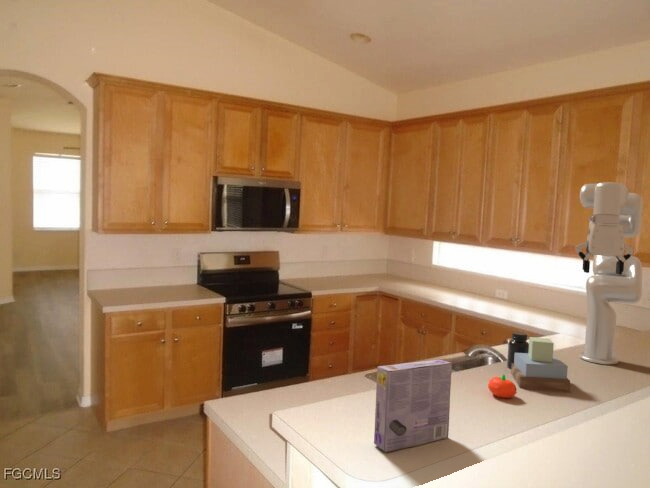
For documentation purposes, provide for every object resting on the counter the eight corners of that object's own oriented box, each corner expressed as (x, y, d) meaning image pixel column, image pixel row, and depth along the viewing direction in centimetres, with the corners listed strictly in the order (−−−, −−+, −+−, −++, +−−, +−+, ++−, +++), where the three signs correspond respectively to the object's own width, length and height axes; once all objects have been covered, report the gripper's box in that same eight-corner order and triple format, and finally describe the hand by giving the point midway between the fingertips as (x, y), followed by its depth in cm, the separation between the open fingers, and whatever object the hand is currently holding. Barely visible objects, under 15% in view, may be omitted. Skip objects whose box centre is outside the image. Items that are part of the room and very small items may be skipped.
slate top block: (513, 364, 159) (514, 352, 159) (552, 366, 158) (552, 354, 158) (525, 376, 147) (526, 363, 147) (566, 379, 146) (567, 366, 146)
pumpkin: (498, 391, 145) (501, 370, 145) (519, 401, 137) (523, 378, 137) (480, 391, 142) (483, 369, 142) (501, 401, 134) (504, 378, 134)
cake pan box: (438, 429, 116) (442, 356, 115) (453, 437, 112) (457, 362, 111) (371, 444, 107) (374, 365, 106) (384, 454, 103) (388, 372, 102)
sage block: (528, 355, 156) (529, 336, 155) (548, 357, 154) (549, 338, 154) (531, 360, 150) (532, 341, 150) (552, 362, 148) (553, 343, 148)
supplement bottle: (525, 372, 162) (527, 337, 162) (504, 368, 166) (506, 333, 166) (530, 367, 168) (532, 333, 167) (510, 363, 172) (512, 330, 171)
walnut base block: (510, 375, 161) (511, 363, 160) (556, 379, 158) (556, 367, 158) (519, 389, 147) (520, 376, 147) (569, 394, 144) (570, 381, 144)
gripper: (580, 219, 155) (577, 273, 156) (640, 221, 152) (636, 276, 153) (573, 219, 163) (570, 270, 164) (630, 221, 159) (626, 273, 160)
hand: (602, 273), depth 158 cm, fingers open, 9 cm apart
